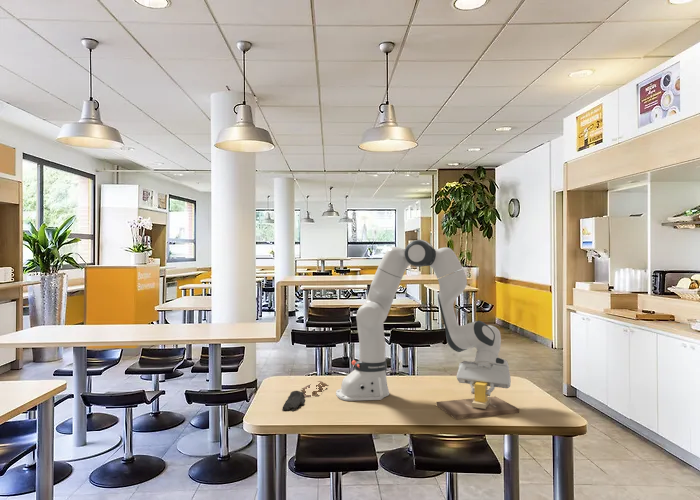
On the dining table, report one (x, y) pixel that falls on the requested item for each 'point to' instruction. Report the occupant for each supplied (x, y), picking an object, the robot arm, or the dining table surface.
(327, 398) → the dining table surface
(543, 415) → the dining table surface
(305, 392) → the wooden fragment
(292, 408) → the dark grey tapered piece
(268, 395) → the dining table surface
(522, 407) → the dining table surface
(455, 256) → the robot arm
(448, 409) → the walnut board
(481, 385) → the block
